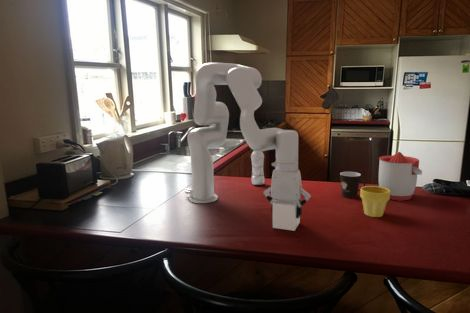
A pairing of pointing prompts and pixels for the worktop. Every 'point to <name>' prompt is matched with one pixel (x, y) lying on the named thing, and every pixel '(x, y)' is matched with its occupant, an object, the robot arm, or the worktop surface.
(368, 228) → the worktop surface
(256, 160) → the plastic bottle
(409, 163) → the citrus juicer
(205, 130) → the robot arm
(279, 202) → the pale grey cube
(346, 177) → the coffee mug
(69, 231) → the worktop surface
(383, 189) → the plant pot
